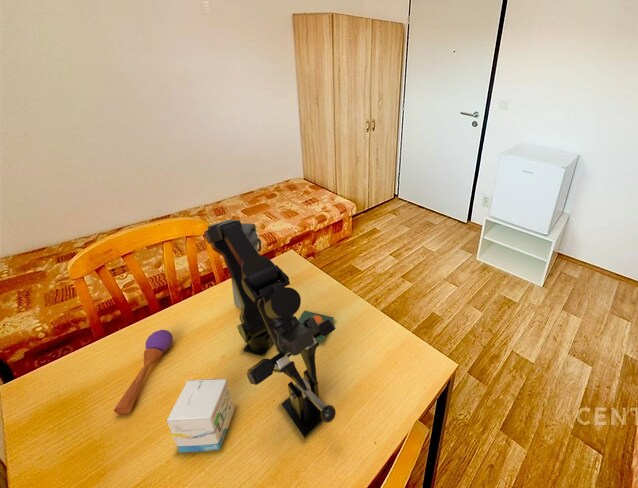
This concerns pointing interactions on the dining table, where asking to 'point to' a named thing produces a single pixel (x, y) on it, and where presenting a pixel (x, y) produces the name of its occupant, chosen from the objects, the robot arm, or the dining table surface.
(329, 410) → the lever
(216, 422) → the ink box
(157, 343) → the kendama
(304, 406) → the bracket
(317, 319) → the button
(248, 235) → the water bottle
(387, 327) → the dining table surface
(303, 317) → the button panel
